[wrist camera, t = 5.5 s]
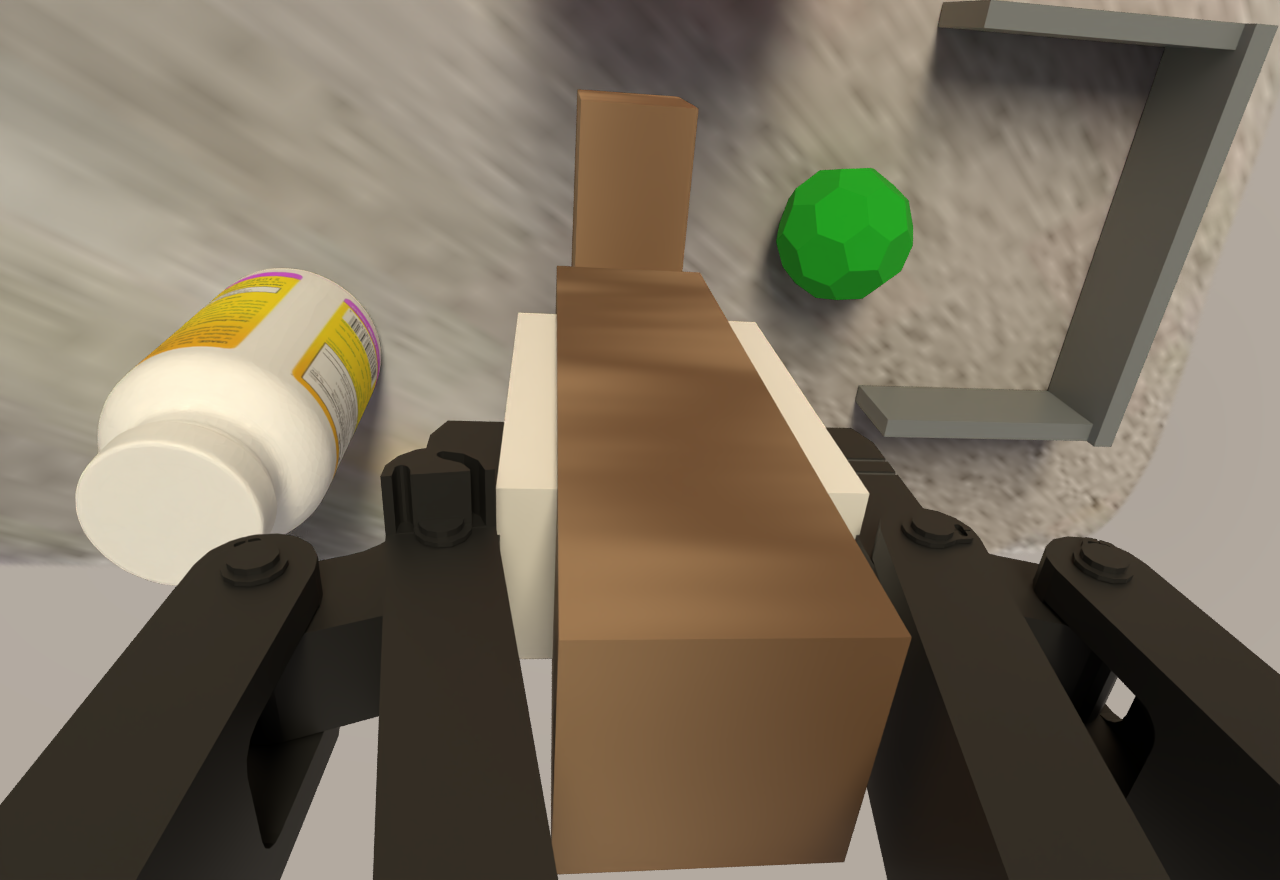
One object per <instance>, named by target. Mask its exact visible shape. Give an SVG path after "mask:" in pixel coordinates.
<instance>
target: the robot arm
mask: <svg viewBox="0 0 1280 880" xmlns="http://www.w3.org/2000/svg"><path fill="white" fill-rule="evenodd" d="M728 322H729V324H730V326H731V327H732V329H733V331H734V333H735V334H736V336H737V338H738V339H739V341H740V343H741V345H742V346H743V348H744V350H745V351H746V353H747V355H748V357H749V358H750V360H751V362H752V363H753V365H754V367H755V369H756V370H757V372H758V374H759V376H760V377H761V379H762V381H763V382H764V384H765V386H766V388H767V389H768V391H769V393H770V394H771V396H772V398H773V400H774V401H775V403H776V405H777V407H778V408H779V410H780V412H781V413H782V415H783V417H784V419H785V420H786V422H787V424H788V425H789V427H790V429H791V431H792V432H793V434H794V436H795V437H796V439H797V441H798V443H799V444H800V446H801V448H802V450H803V451H804V453H805V455H806V456H807V458H808V460H809V462H810V463H811V465H812V467H813V468H814V470H815V472H816V474H817V475H818V477H819V479H820V480H821V482H822V484H823V486H824V487H825V489H826V491H827V493H828V494H829V496H830V498H831V499H832V501H833V503H834V505H835V506H836V508H837V510H838V511H839V513H840V515H841V517H842V518H843V520H844V522H845V524H846V525H847V527H848V529H849V530H850V532H851V534H852V536H853V537H854V539H855V541H856V542H857V544H858V546H859V548H860V549H861V551H862V553H863V554H864V556H865V558H866V560H867V561H868V563H869V565H870V567H871V568H872V570H873V572H874V573H875V575H876V577H877V579H878V580H879V582H880V584H881V585H882V587H883V589H884V591H885V592H886V594H887V596H888V598H889V599H890V601H891V603H892V604H893V606H894V608H895V610H896V611H897V613H898V615H899V616H900V618H901V620H902V622H903V623H904V625H905V627H906V628H907V630H908V632H909V634H910V635H911V637H912V638H911V641H910V645H909V648H908V651H907V655H906V658H905V661H904V665H903V668H902V671H901V675H900V678H899V681H898V685H897V688H896V691H895V695H894V698H893V701H892V705H891V708H890V711H889V714H888V718H887V721H886V724H885V728H884V731H883V734H882V738H881V741H880V744H879V748H878V751H877V754H876V758H875V761H874V764H873V768H872V771H871V774H870V778H869V781H868V784H867V790H868V794H869V799H870V804H871V808H872V813H873V817H874V822H875V826H876V830H877V835H878V840H879V844H880V848H881V853H882V857H883V862H884V866H885V871H886V875H887V880H1280V674H1279V673H1277V672H1276V671H1275V670H1273V669H1272V668H1271V667H1270V666H1269V665H1268V664H1266V663H1265V662H1264V661H1263V660H1262V659H1260V658H1259V657H1258V656H1257V655H1255V654H1254V653H1253V652H1252V651H1251V650H1249V649H1248V648H1247V647H1246V646H1245V645H1243V644H1242V643H1241V642H1240V641H1239V640H1237V639H1236V638H1235V637H1234V636H1233V635H1231V634H1230V633H1229V632H1228V631H1226V630H1225V629H1224V628H1223V627H1222V626H1220V625H1219V624H1218V623H1217V622H1215V621H1214V620H1213V619H1212V618H1211V617H1210V616H1208V615H1207V614H1206V613H1205V612H1203V611H1202V610H1201V609H1200V608H1199V607H1197V606H1196V605H1195V604H1194V603H1192V602H1191V601H1190V600H1189V599H1188V598H1186V597H1185V596H1184V595H1183V594H1182V593H1181V592H1179V591H1178V590H1177V589H1176V588H1174V587H1173V586H1172V585H1171V584H1169V583H1168V582H1167V581H1166V580H1165V579H1163V578H1162V577H1161V576H1160V575H1159V574H1157V573H1156V572H1155V571H1154V570H1153V569H1151V568H1150V567H1149V566H1148V565H1147V564H1145V563H1144V562H1142V561H1141V560H1139V559H1138V558H1136V557H1135V556H1133V555H1132V554H1130V553H1129V552H1126V551H1124V550H1122V549H1120V548H1117V547H1115V546H1114V545H1113V544H1111V543H1108V542H1105V541H1102V540H1100V541H1097V539H1093V538H1087V537H1085V538H1082V537H1063V538H1058V539H1053V540H1052V541H1051V542H1050V543H1049V544H1048V545H1047V546H1046V548H1045V550H1044V553H1043V556H1042V558H1041V561H1040V563H1039V564H1036V563H1031V562H1026V561H1021V560H1016V559H1011V558H1006V557H1001V556H996V555H992V554H989V553H988V552H987V550H986V548H985V546H984V545H983V543H982V541H981V539H980V538H979V537H978V536H977V534H976V533H975V532H974V531H973V530H972V529H971V528H970V527H969V526H967V525H965V524H964V523H962V522H961V521H959V520H957V519H956V518H954V517H951V516H948V515H946V514H943V513H941V512H938V511H934V510H929V509H923V508H922V506H921V505H920V504H919V502H918V501H917V500H916V498H915V497H914V496H913V495H912V493H911V492H910V491H909V489H908V488H907V487H906V485H905V484H904V483H903V481H902V480H901V479H900V477H899V476H898V475H895V471H894V469H893V468H892V467H891V465H890V464H889V463H888V462H885V458H884V456H883V455H882V454H881V452H880V451H879V450H878V448H877V447H876V446H875V444H874V443H873V442H872V441H870V440H868V439H867V438H865V437H864V436H862V435H861V434H859V433H858V432H856V431H855V430H853V429H851V428H825V426H824V425H823V423H822V422H821V420H820V419H819V417H818V416H817V414H816V413H815V411H814V410H813V408H812V407H811V405H810V404H809V402H808V401H807V399H806V398H805V396H804V395H803V393H802V392H801V390H800V389H799V387H798V386H797V384H796V383H795V381H794V380H793V378H792V377H791V375H790V374H789V372H788V371H787V369H786V368H785V366H784V365H783V363H782V362H781V360H780V359H779V357H778V356H777V354H776V353H775V351H774V350H773V348H772V347H771V345H770V344H769V342H768V341H767V339H766V338H765V336H764V335H763V333H762V332H761V330H760V329H759V327H758V326H757V324H756V323H755V322H735V321H728ZM380 477H381V488H382V500H383V511H384V522H385V533H386V541H385V542H383V543H381V544H380V545H378V546H375V547H373V548H371V549H368V550H366V551H363V552H359V553H355V554H351V555H348V556H343V557H337V558H332V559H327V560H321V561H318V556H317V554H316V552H315V550H314V548H313V546H312V545H311V544H310V543H308V542H306V541H304V540H302V539H301V538H299V537H296V536H290V535H284V534H279V533H275V534H256V535H250V536H247V537H241V538H238V539H235V540H231V541H229V542H227V543H225V544H223V545H221V546H218V547H216V548H214V549H212V550H210V551H209V552H208V553H206V554H205V555H204V556H203V557H202V558H201V559H200V560H198V561H197V562H196V563H195V564H194V565H193V566H192V568H191V569H190V570H189V571H188V573H187V574H186V575H185V576H184V578H183V579H182V580H181V581H180V582H179V584H178V585H177V586H176V587H175V589H174V590H173V591H172V593H171V594H170V595H169V596H168V597H167V599H166V600H165V601H164V602H163V604H162V605H161V606H160V607H159V609H158V610H157V611H156V612H155V613H154V615H153V616H152V617H151V618H150V620H149V621H148V622H147V623H146V625H145V626H144V627H143V629H142V630H141V631H140V632H139V633H138V635H137V636H136V637H135V638H134V640H133V641H132V642H131V643H130V645H129V646H128V647H127V648H126V650H125V651H124V652H123V653H122V654H121V656H120V657H119V658H118V659H117V661H116V662H115V663H114V664H113V666H112V667H111V668H110V669H109V671H108V672H107V673H106V674H105V676H104V677H103V678H102V679H101V681H100V682H99V683H98V684H97V686H96V687H95V688H94V689H93V690H92V692H91V693H90V694H89V695H88V697H87V698H86V699H85V700H84V702H83V703H82V704H81V705H80V707H79V708H78V709H77V710H76V712H75V713H74V714H73V715H72V717H71V718H70V719H69V720H68V722H67V723H66V724H65V725H64V726H63V728H62V729H61V730H60V731H59V733H58V734H57V736H55V738H54V739H53V740H52V741H51V743H50V744H49V745H48V746H47V748H46V749H45V750H44V751H43V752H42V754H41V755H40V756H39V757H38V759H37V760H36V761H35V763H34V764H33V765H32V766H31V767H30V769H29V770H28V771H27V772H26V774H25V775H24V776H23V777H22V779H21V780H20V781H19V782H18V784H17V785H16V786H15V788H13V790H12V791H11V792H10V794H9V795H8V796H7V797H6V798H5V800H4V801H3V802H2V803H1V805H0V880H280V878H281V876H282V874H283V871H284V869H285V866H286V864H287V861H288V859H289V856H290V854H291V851H292V849H293V847H294V844H295V841H296V839H297V837H298V834H299V832H300V829H301V827H302V824H303V822H304V820H305V817H306V814H307V812H308V810H309V807H310V805H311V802H312V800H313V797H314V795H315V792H316V789H317V787H318V785H319V783H320V780H321V778H322V775H323V773H324V770H325V768H326V765H327V763H328V760H329V758H330V755H331V753H332V751H333V748H334V746H335V743H336V741H337V738H338V735H339V728H340V727H341V726H345V725H348V724H352V723H355V722H359V721H362V720H367V719H370V718H374V717H377V716H379V730H378V758H377V785H376V812H375V838H374V865H373V880H558V876H557V870H556V864H555V859H554V853H553V847H552V842H551V836H550V830H549V825H548V820H547V813H546V808H545V802H544V796H543V791H542V785H541V779H540V774H539V768H538V762H537V757H536V751H535V745H534V740H533V734H532V728H531V723H530V717H529V711H528V705H527V700H526V694H525V689H524V683H523V678H522V672H521V666H520V660H519V659H552V654H553V620H554V586H555V552H556V519H557V314H536V313H518V320H517V328H516V336H515V344H514V351H513V359H512V367H511V375H510V383H509V390H508V398H507V406H506V414H505V422H482V421H447V422H446V423H444V424H443V425H442V426H441V427H440V428H438V429H437V430H436V431H435V432H433V433H432V434H431V435H430V438H429V441H428V444H427V448H424V449H417V450H414V451H411V452H408V453H406V454H403V455H400V456H398V457H396V458H395V459H394V460H392V461H391V462H390V463H388V464H387V465H385V468H384V470H383V472H382V474H381V476H380ZM1117 677H1118V678H1119V679H1120V680H1121V681H1122V682H1123V683H1124V684H1125V685H1126V686H1127V687H1128V688H1129V689H1130V690H1131V691H1132V692H1133V694H1134V695H1135V699H1134V701H1133V703H1132V705H1131V707H1130V709H1129V711H1128V713H1127V715H1126V716H1125V717H1124V718H1123V719H1120V718H1119V717H1118V716H1117V715H1116V714H1114V713H1113V712H1112V711H1111V710H1110V709H1109V707H1108V706H1107V705H1106V704H1105V703H1106V700H1107V699H1108V696H1109V694H1110V692H1111V690H1112V688H1113V686H1114V684H1115V682H1116V679H1117Z"/></svg>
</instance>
